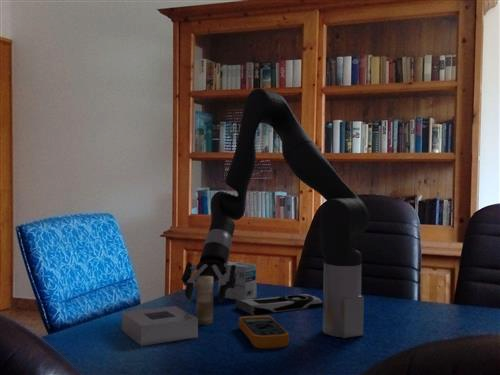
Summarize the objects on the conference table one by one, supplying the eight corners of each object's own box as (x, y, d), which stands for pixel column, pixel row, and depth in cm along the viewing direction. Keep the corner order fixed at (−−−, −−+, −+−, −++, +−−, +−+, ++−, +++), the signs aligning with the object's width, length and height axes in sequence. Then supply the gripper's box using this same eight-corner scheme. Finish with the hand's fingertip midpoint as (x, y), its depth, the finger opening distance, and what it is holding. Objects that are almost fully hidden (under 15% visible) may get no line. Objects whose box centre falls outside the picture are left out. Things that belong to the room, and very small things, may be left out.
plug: (215, 323, 143) (216, 277, 142) (200, 325, 140) (200, 279, 140) (208, 319, 146) (208, 274, 146) (193, 321, 144) (193, 276, 144)
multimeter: (254, 351, 122) (255, 336, 122) (237, 329, 139) (237, 315, 139) (291, 349, 124) (291, 333, 124) (270, 327, 141) (270, 314, 141)
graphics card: (235, 299, 159) (306, 291, 171) (235, 310, 159) (306, 302, 171) (251, 306, 150) (326, 298, 162) (251, 319, 150) (326, 309, 162)
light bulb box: (257, 297, 174) (257, 263, 173) (245, 301, 168) (246, 266, 168) (229, 293, 179) (229, 260, 179) (217, 297, 174) (217, 263, 173)
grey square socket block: (197, 337, 130) (198, 318, 130) (141, 345, 123) (141, 325, 123) (175, 323, 143) (175, 305, 142) (122, 330, 135) (122, 312, 135)
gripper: (189, 239, 153) (174, 289, 142) (239, 241, 149) (227, 292, 138) (195, 256, 158) (181, 304, 147) (243, 258, 155) (232, 308, 144)
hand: (203, 298), depth 143 cm, fingers open, 8 cm apart
